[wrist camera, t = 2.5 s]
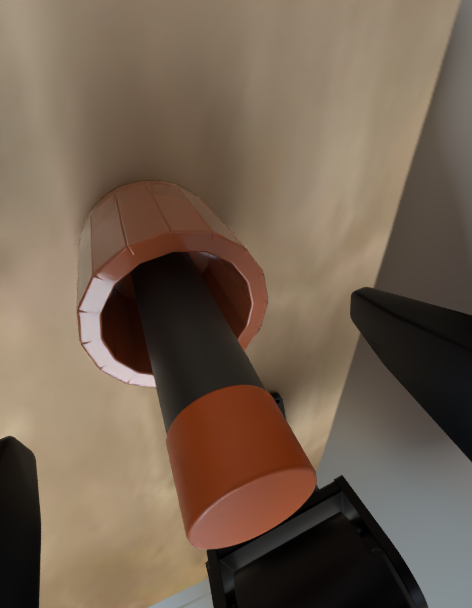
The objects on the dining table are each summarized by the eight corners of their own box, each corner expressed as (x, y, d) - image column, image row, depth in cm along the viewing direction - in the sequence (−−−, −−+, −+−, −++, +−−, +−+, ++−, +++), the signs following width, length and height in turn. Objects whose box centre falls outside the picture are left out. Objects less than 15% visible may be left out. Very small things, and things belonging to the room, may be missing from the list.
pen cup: (230, 280, 16) (276, 347, 12) (117, 323, 15) (128, 411, 11) (200, 160, 12) (253, 201, 8) (49, 207, 11) (31, 278, 7)
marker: (192, 269, 14) (320, 504, 6) (139, 289, 14) (207, 564, 6) (175, 218, 12) (317, 447, 5) (115, 238, 12) (166, 523, 4)
